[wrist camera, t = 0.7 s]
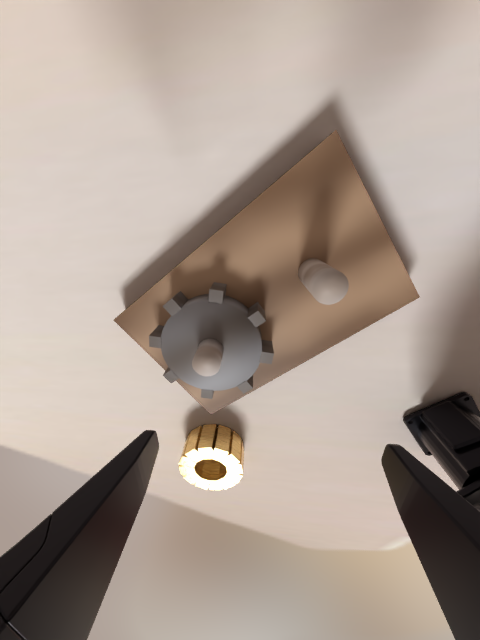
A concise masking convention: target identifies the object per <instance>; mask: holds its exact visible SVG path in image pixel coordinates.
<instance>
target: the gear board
mask: <svg viewBox="0 0 480 640" xmlns="http://www.w3.org/2000/svg"><path fill="white" fill-rule="evenodd" d="M417 298H419V295H418V293H417V291H416V289H415V287H414V285H413V283H412V281H411V279H410V277H409V275H408V273H407V271H406V269H405V267H404V265H403V263H402V261H401V259H400V257H399V255H398V253H397V251H396V249H395V247H394V245H393V243H392V241H391V239H390V237H389V235H388V233H387V231H386V229H385V227H384V225H383V223H382V221H381V219H380V217H379V215H378V213H377V211H376V209H375V207H374V205H373V203H372V201H371V199H370V197H369V195H368V193H367V191H366V189H365V187H364V185H363V183H362V181H361V179H360V177H359V175H358V173H357V171H356V169H355V167H354V165H353V163H352V161H351V159H350V157H349V155H348V153H347V151H346V149H345V147H344V145H343V143H342V141H341V138H340V136H339V134H338V132H337V130H335V131H334V132H333V133H332V134H331V135H329V136H328V137H327V138H326V139H325V140H324V141H322V142H321V143H320V144H319V145H318V146H317V147H315V148H314V149H313V150H312V151H311V152H310V153H308V154H307V155H306V156H305V157H304V158H303V159H301V160H300V161H299V162H298V163H297V164H296V165H294V166H293V167H292V168H291V169H290V170H289V171H287V172H286V173H285V174H284V175H283V176H282V177H280V178H279V179H278V180H277V181H276V182H274V183H273V184H272V185H271V186H270V187H269V188H267V189H266V190H265V191H264V192H263V193H262V194H260V195H259V196H258V197H257V198H256V199H255V200H253V201H252V202H251V203H250V204H249V205H248V206H246V207H245V208H244V209H243V210H242V211H241V212H239V213H238V214H237V215H236V216H235V217H234V218H232V219H231V220H230V221H229V222H228V223H226V224H225V225H224V226H223V227H222V228H221V229H219V230H218V231H217V232H216V233H215V234H214V235H212V236H211V237H210V238H209V239H208V240H207V241H205V242H204V243H203V244H202V245H201V246H200V247H198V248H197V249H196V250H195V251H194V252H193V253H191V254H190V255H189V256H188V257H187V258H186V259H184V260H183V261H182V262H181V263H180V264H179V265H177V266H176V267H175V268H174V269H173V270H171V271H170V272H169V273H168V274H167V275H166V276H164V277H163V278H162V279H161V280H160V281H159V282H157V283H156V284H155V285H154V286H153V287H152V288H150V289H149V290H148V291H147V292H146V293H145V294H143V295H142V296H141V297H140V298H139V299H138V300H136V301H135V302H134V303H133V304H132V305H131V306H129V307H128V308H127V309H126V310H125V311H124V312H122V313H121V314H120V315H119V316H118V317H116V318H115V319H114V321H115V322H116V323H117V324H118V325H119V326H120V327H121V328H122V329H123V330H124V331H125V332H126V333H127V334H128V335H129V336H130V337H131V338H132V339H134V340H135V341H136V342H137V343H138V344H139V345H140V346H141V347H142V348H143V349H144V350H145V351H146V352H147V353H148V354H149V355H150V356H151V357H152V358H153V359H154V360H155V361H156V362H157V363H158V364H159V365H160V366H161V367H162V368H163V369H164V370H165V373H164V375H163V376H164V377H165V378H166V379H167V380H168V381H169V382H170V383H173V382H174V381H177V382H178V383H179V384H180V385H181V386H182V387H183V388H184V389H185V390H186V391H187V392H188V393H189V394H190V395H191V396H192V397H193V398H194V399H195V400H196V401H197V402H198V403H199V404H201V405H202V406H203V407H204V408H205V409H206V410H207V411H208V412H209V413H210V414H213V413H215V412H217V411H218V410H220V409H222V408H224V407H225V406H227V405H229V404H231V403H233V402H234V401H236V400H238V399H240V398H241V397H243V396H245V395H247V394H249V393H250V392H252V391H254V390H256V389H257V388H259V387H261V386H263V385H265V384H266V383H268V382H270V381H272V380H273V379H275V378H277V377H279V376H281V375H282V374H284V373H286V372H288V371H289V370H291V369H293V368H295V367H297V366H298V365H300V364H302V363H304V362H305V361H307V360H309V359H311V358H313V357H314V356H316V355H318V354H320V353H321V352H323V351H325V350H327V349H329V348H330V347H332V346H334V345H336V344H337V343H339V342H341V341H343V340H345V339H346V338H348V337H350V336H352V335H353V334H355V333H357V332H359V331H361V330H362V329H364V328H366V327H368V326H369V325H371V324H373V323H375V322H377V321H378V320H380V319H382V318H384V317H385V316H387V315H389V314H391V313H393V312H394V311H396V310H398V309H400V308H401V307H403V306H405V305H407V304H409V303H410V302H412V301H414V300H416V299H417Z"/></svg>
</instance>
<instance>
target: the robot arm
mask: <svg viewBox="0 0 480 640" xmlns="http://www.w3.org/2000/svg"><path fill="white" fill-rule="evenodd" d="M403 421H404V423H405V424H406V426H407V427H408V429H409V430H410V432H411V433H412V435H413V437H414V438H415V440H416V441H417V443H418V444H419V446H420V447H421V449H422V450H423V452H424V453H425V454H426V455H428V456H430V455H433V456H434V458H435V459H436V460H437V461H438V463H439V464H440V465H441V467H442V468H443V469H444V471H445V472H446V473H447V474H448V476H449V477H450V478H451V480H452V481H453V482H454V484H455V485H456V486H457V487H458V489H459V490H458V491H455V490H453V489H452V488H451V487H450V486H449V485H447V484H446V483H445V482H444V481H443V480H441V479H440V478H439V477H438V476H437V475H435V474H434V473H433V472H432V471H431V470H429V469H428V468H427V467H426V466H425V465H423V464H422V463H421V462H420V461H418V460H417V459H416V458H415V457H414V456H412V455H411V454H410V453H409V452H408V451H406V450H405V449H404V448H403V447H402V446H400V445H397V444H387V445H386V447H385V450H384V453H383V456H382V466H383V469H384V472H385V475H386V477H387V480H388V483H389V486H390V489H391V492H392V495H393V498H394V501H395V503H396V506H397V509H398V512H399V514H400V516H401V519H402V521H403V523H404V526H405V528H406V530H407V532H408V535H409V537H410V539H411V541H412V543H413V546H414V548H415V550H416V552H417V554H418V557H419V559H420V561H421V564H422V566H423V568H424V570H425V572H426V575H427V577H428V579H429V582H430V583H431V586H432V588H433V591H434V593H435V595H436V597H437V599H438V602H439V604H440V606H441V609H442V611H443V613H444V615H445V617H446V620H447V622H448V624H449V626H450V629H451V631H452V633H453V635H454V638H455V640H480V412H479V410H478V408H477V406H476V404H475V402H474V400H473V398H472V396H471V395H469V394H468V393H466V392H463V393H460V394H458V395H456V396H453V397H451V398H448V399H446V400H444V401H441V402H439V403H437V404H434V405H432V406H430V407H427V408H425V409H422V410H420V411H418V412H415V413H413V414H411V415H408V416H406V417H404V419H403ZM158 449H159V443H158V438H157V433H156V431H154V430H146V431H144V432H143V433H142V434H140V435H139V436H138V437H137V438H136V439H135V440H134V441H133V442H131V443H130V444H129V445H128V446H127V447H126V448H125V449H124V450H122V451H121V452H120V453H119V454H118V455H117V456H116V457H115V458H113V459H112V460H111V461H110V462H109V463H108V464H107V465H105V466H104V467H103V468H102V469H101V470H100V471H99V472H98V473H96V474H95V475H94V476H93V477H92V478H91V479H90V480H89V481H88V482H86V483H85V484H84V485H83V486H82V487H81V488H80V489H78V490H77V491H76V492H75V493H74V494H73V495H72V496H71V497H69V498H68V499H67V500H66V501H65V502H64V503H63V504H61V505H60V506H59V507H58V508H57V509H56V510H55V511H54V512H53V513H52V514H50V515H49V516H48V517H47V518H46V519H45V520H43V521H42V522H41V523H40V524H39V525H38V526H37V527H35V528H34V529H33V530H32V531H31V532H30V533H28V534H27V535H26V536H25V537H24V538H23V539H22V540H20V541H19V542H18V543H17V544H16V545H14V546H13V547H12V548H11V549H9V550H8V551H7V552H6V553H4V554H3V555H2V556H1V557H0V640H87V638H88V636H89V633H90V630H91V628H92V625H93V623H94V621H95V618H96V616H97V613H98V611H99V608H100V606H101V603H102V601H103V598H104V596H105V593H106V591H107V588H108V585H109V583H110V581H111V578H112V575H113V573H114V571H115V568H116V566H117V563H118V561H119V558H120V556H121V553H122V551H123V548H124V546H125V543H126V541H127V538H128V536H129V533H130V531H131V528H132V526H133V523H134V521H135V518H136V516H137V514H138V511H139V509H140V506H141V504H142V501H143V498H144V496H145V493H146V490H147V487H148V484H149V480H150V477H151V473H152V470H153V467H154V463H155V460H156V457H157V453H158Z"/></svg>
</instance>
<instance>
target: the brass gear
mask: <svg viewBox="0 0 480 640" xmlns="http://www.w3.org/2000/svg"><path fill="white" fill-rule="evenodd" d="M243 461H244V446H243V440H241V437H240V436H239V435H238V434H237V433H236V432H235V431H234V430H233V431H231V429H230V428H227V427H224V426H222V425H219V426H218V428H217V426H216V424H211V425H203V427H202V426H199V427H197V428H196V429H194V430H192V431H191V433H189V435H188V437H187V440H186V442H185V446H184V449H183V452H182V455H181V459H180V462H179V469H180V472H181V475H184V476H183V478H185V479H186V480H187V481H188V482H190V483H191V484H194V483H195V486H197V487H200V488H203V489H206V490H207V488H208V487H209V489H210V490H222V489H223V488H224V489H227V488H229V487H232V486H234V485H235V484H236V483H238V482H239V480H240V479H241V477H242V476H243Z"/></svg>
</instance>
